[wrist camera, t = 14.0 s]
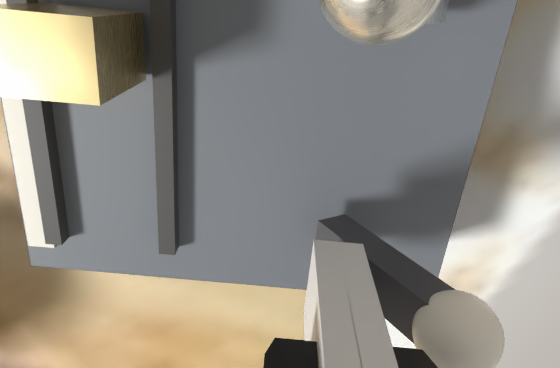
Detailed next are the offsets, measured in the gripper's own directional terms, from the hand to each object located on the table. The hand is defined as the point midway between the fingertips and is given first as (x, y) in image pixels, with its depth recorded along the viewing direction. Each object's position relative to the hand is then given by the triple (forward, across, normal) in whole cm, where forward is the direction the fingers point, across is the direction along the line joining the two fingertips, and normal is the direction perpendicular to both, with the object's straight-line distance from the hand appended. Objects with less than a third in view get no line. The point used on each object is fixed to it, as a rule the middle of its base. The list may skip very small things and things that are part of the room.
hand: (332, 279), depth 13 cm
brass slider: (+3, -8, +6) cm, 10 cm away
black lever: (+3, 0, 0) cm, 3 cm away
